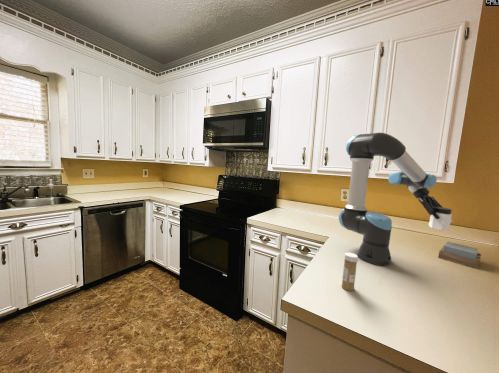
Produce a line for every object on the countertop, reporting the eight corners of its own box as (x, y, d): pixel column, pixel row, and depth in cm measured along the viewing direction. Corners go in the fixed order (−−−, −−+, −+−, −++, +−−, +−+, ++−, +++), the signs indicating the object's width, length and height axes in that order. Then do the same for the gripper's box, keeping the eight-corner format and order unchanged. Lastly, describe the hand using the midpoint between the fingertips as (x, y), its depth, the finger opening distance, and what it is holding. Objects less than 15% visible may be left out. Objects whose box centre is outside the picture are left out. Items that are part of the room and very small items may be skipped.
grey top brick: (475, 260, 106) (476, 253, 106) (443, 251, 115) (444, 245, 115) (476, 254, 114) (477, 248, 114) (446, 247, 123) (447, 241, 123)
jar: (437, 226, 127) (441, 206, 125) (452, 230, 119) (456, 210, 117) (424, 225, 126) (428, 206, 124) (438, 230, 118) (442, 209, 116)
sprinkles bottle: (354, 292, 79) (358, 258, 78) (341, 289, 81) (345, 255, 79) (353, 286, 83) (357, 253, 82) (341, 283, 85) (344, 251, 83)
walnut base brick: (478, 269, 104) (479, 260, 104) (438, 257, 116) (439, 250, 115) (479, 261, 114) (481, 253, 114) (442, 251, 125) (444, 244, 125)
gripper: (421, 193, 138) (448, 224, 126) (404, 194, 129) (431, 228, 117) (433, 186, 133) (462, 218, 121) (415, 186, 123) (445, 221, 111)
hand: (447, 223), depth 119 cm, fingers closed on jar, 8 cm apart
